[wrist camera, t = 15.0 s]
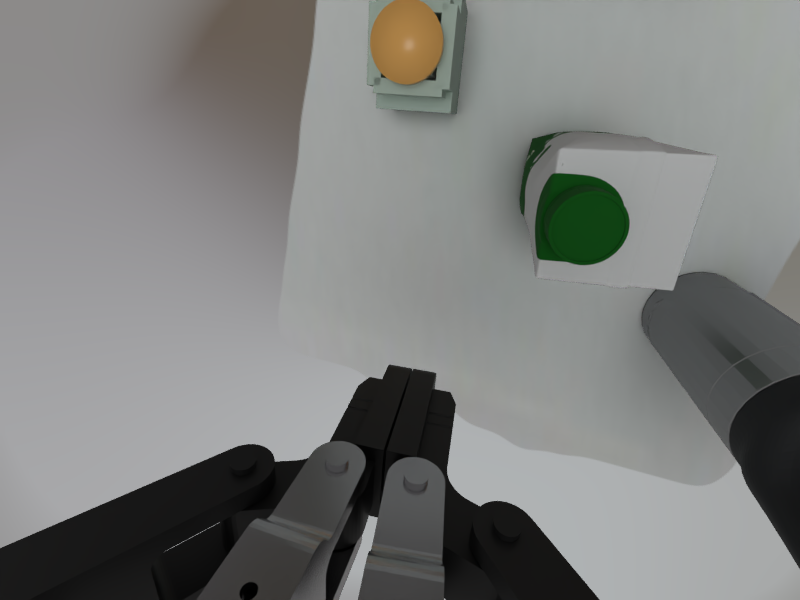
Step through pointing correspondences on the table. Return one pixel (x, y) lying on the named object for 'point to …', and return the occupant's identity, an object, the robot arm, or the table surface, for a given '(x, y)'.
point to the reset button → (407, 42)
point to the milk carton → (612, 207)
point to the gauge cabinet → (445, 88)
